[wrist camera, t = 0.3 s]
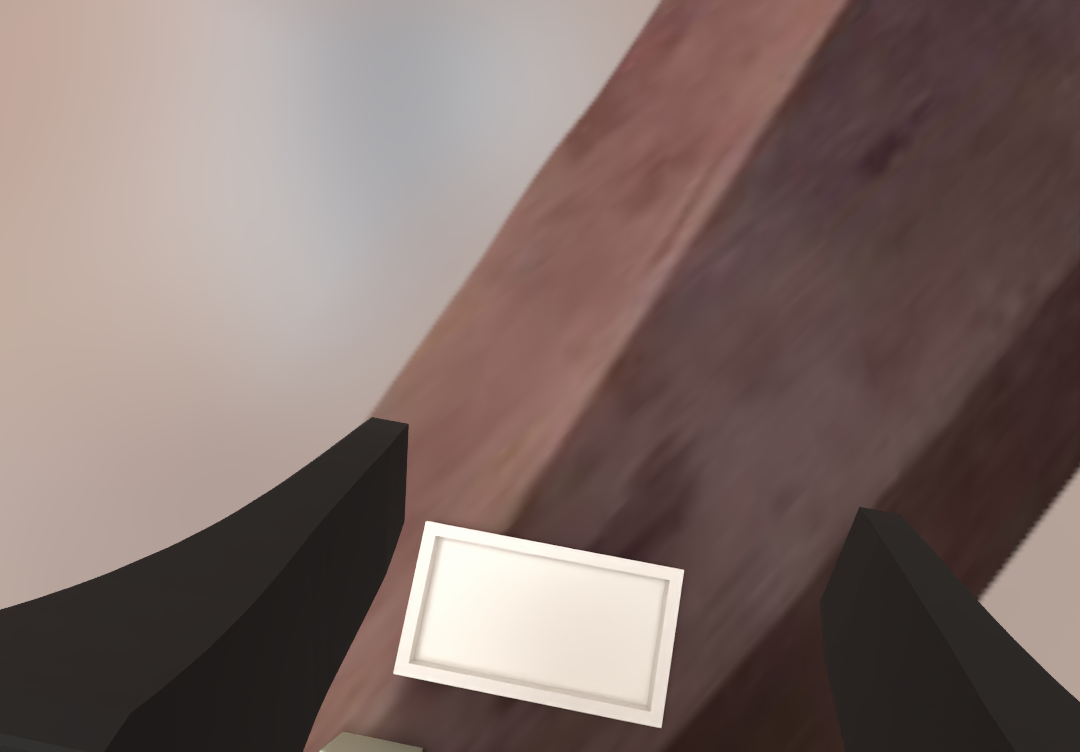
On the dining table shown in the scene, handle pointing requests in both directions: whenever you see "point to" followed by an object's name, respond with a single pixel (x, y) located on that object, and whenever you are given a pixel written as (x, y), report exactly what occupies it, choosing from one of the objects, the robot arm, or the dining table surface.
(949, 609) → the robot arm
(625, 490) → the dining table surface
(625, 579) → the tray
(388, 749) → the sage block
